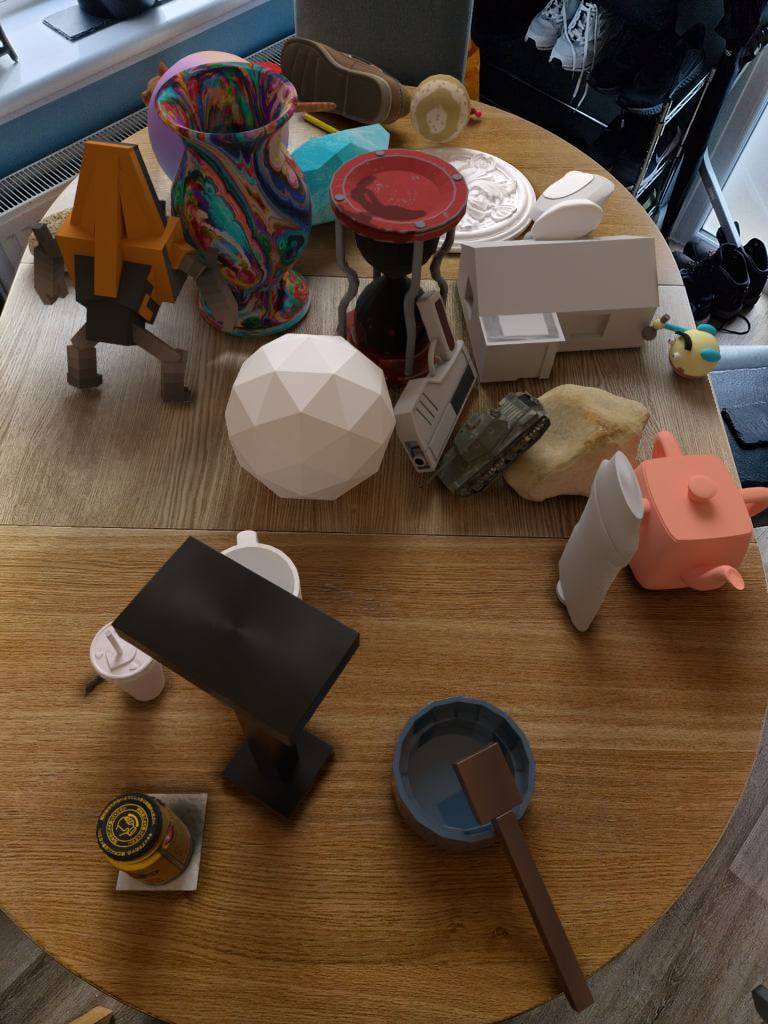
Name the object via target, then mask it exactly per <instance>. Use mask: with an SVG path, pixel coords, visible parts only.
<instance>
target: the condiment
mask: <svg viewBox="0 0 768 1024" xmlns="http://www.w3.org/2000/svg"><path fill="white" fill-rule="evenodd" d="M207 802H208V793H143V792H137V791H136V792H135V791H134V792H133V791H131V792H124V793H123V794H120V795H118V796H116V797H115V798H113V799H112V800H109V802H107V804H106V806H104V808H103V810H102V811H101V812H100V813H99V815H98V820H97V823H96V827H95V837H96V839H97V841H96V842H97V845H98V847H99V848H100V850H101V851H102V853H103V855H104V857H105V858H106V859H107V861H108V863H110V864H111V866H112V867H114V868H116V869H117V870H119V871H118V877H117V882H116V887H115V891H197V887H198V879H199V873H200V864H201V856H202V846H203V839H204V838H203V837H204V828H205V827H204V826H205V821H206V811H207Z"/></svg>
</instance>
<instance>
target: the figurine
mask: <svg viewBox="0 0 768 1024" xmlns="http://www.w3.org/2000/svg"><path fill="white" fill-rule="evenodd" d="M670 320H671V315H669V314H668V313H665V314H663V315H662V316H661V317H658V318H656V319H654V321H653V324H652V325H650V326H647V327H645V328H644V329H643V330H642V333H641V335H642V338H643V339H644V340H645V341H646V342H651V341H653V340H655V339H656V338H657V335H658V331H660V330H663V329H664V330H667V331H671V332H674V334H675V335H677V336H676V337H670V338H668V340H667V343H668V345H670V346H669V350H668V362H669V365H670V368H671V369H672V370H673V371H674V372H675V373H676V374H677V375H679V376H680V377H683V378H686V379H699V378H703V377H705V376H706V375H708V374H710V373H711V372H712V371H713V370H714V369H715V368H716V366H717V364H718V362H719V361H720V360H721V359H722V355H721V348H720V344H719V342H718V340H717V339H716V337H715V336H716V335H717V329H716V328H715V327H714V326H713V325H711V324H708V323H702V324H699V325H697V327H696V328H695V329H694V328H693V329H688V328H685V327H682V326H678V325H676V324H673V323H669V322H668V321H670ZM644 340H643V341H644Z"/></svg>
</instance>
